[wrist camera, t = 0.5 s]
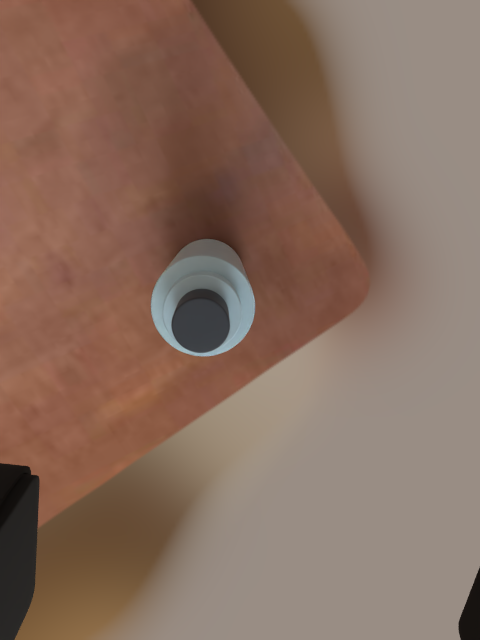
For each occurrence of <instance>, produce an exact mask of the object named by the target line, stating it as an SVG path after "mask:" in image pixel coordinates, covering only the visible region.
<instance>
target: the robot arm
mask: <svg viewBox="0 0 480 640" xmlns="http://www.w3.org/2000/svg"><path fill="white" fill-rule="evenodd" d="M38 503H39V476H37V475H31V470H30V467H28V466H21V465H11V464H2V463H0V640H14V639H15V637H16V635H17V633H18V630H19V628H20V626H21V624H22V622H23V620H24V618H25V616H26V613H27V611H28V609H29V606H30V604H31V600H32V597H33V593H34V587H35V570H36V548H37V546H36V545H37V526H38ZM459 634H460V638H461V640H480V568H479V571H478V573H477V576H476V578H475V581H474V584H473V586H472V589H471V591H470V594H469V597H468V599H467V602H466V604H465V607H464V610H463V612H462V615H461V617H460V620H459Z"/></svg>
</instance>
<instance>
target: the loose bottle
mask: <svg viewBox="0 0 480 640" xmlns="http://www.w3.org/2000/svg"><path fill="white" fill-rule="evenodd" d="M151 313H152V318H153V321H154V324H155V326H156V328H157V330H158V332H159V333H160V334H161V336H162V337H163V338H164V339H165V340H166V341H167V342H168V343H169V344H170V345H171V346H173V347H174V348H176V349H177V350H179V351H182V352H184V353H187V354H190V355H195V356H212V355H217V354H220V353H223V352H225V351H228V350H229V349H231V348H233V347H234V346H235V345H237V344H238V343H239V342H240V341H241V340H242V339H243V338H244V337H245V335H246V334H247V332H248V331H249V329H250V327H251V325H252V322H253V318H254V314H255V299H254V294H253V291H252V288H251V285H250V283H249V280H248V277H247V275H246V272H245V269H244V267H243V264H242V262H241V260H240V258H239V256H238V255H237V253H236V252H235V251H234V250H233V249H232V248H231V247H230V246H228V245H227V244H225V243H223V242H221V241H218V240H214V239H201V240H197V241H193V242H191V243H189V244H188V245H186V246H185V247H184V248H182V249H181V250H180V251H179V253H178V254H177V255H176V256H175V258H174V259H173V260H172V262H171V263H170V264H169V266H168V267H167V268H166V269H165V271H164V272H163V273H162V275H161V276H160V278H159V279H158V281H157V283H156V285H155V287H154V290H153V293H152V298H151Z"/></svg>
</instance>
